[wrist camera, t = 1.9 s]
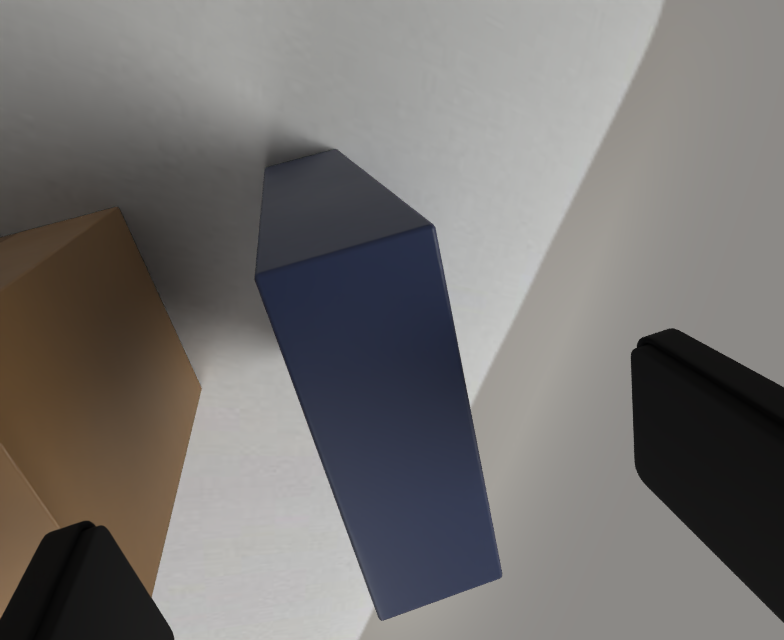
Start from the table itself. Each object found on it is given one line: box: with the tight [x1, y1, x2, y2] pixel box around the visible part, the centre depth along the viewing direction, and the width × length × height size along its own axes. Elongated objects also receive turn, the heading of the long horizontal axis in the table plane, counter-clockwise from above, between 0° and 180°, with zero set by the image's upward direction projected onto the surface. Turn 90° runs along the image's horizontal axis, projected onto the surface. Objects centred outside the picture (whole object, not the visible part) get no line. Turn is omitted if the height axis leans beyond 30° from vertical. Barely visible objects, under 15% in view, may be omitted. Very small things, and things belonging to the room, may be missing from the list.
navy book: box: [255, 149, 502, 621], centre depth 15 cm, size 8×3×13 cm, turn 13°
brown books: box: [0, 207, 202, 619], centre depth 15 cm, size 8×7×12 cm
